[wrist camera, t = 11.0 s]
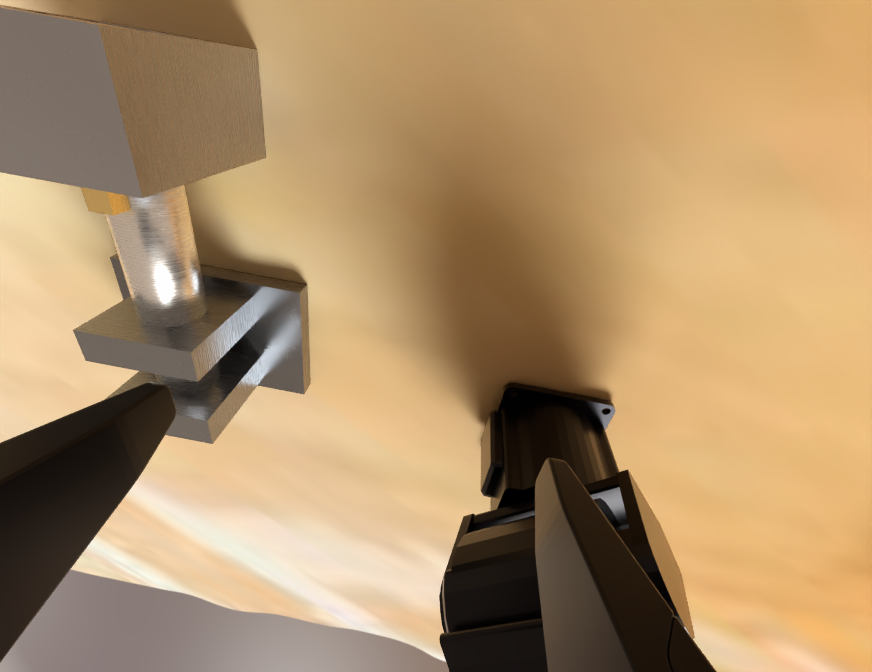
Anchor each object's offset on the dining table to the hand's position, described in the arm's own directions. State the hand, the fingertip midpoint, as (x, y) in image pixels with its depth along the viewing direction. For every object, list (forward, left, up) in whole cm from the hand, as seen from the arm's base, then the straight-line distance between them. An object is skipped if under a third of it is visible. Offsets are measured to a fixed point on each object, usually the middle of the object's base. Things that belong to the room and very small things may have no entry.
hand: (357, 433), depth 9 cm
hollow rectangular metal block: (+11, -5, -12) cm, 17 cm away
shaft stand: (+11, +1, -12) cm, 16 cm away
